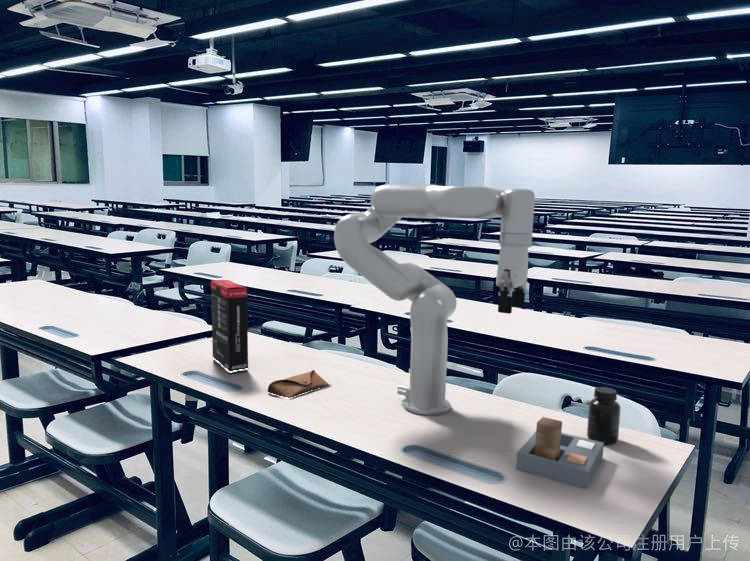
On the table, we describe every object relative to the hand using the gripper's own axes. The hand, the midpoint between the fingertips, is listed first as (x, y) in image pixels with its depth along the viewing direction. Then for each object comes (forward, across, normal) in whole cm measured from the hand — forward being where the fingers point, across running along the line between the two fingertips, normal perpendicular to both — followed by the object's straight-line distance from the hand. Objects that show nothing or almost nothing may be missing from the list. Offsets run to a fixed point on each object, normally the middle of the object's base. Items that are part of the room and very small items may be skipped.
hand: (511, 309), depth 136 cm
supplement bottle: (+28, -2, +23) cm, 37 cm away
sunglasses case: (+29, +13, -56) cm, 64 cm away
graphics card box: (+29, +10, -88) cm, 93 cm away
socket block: (+28, +16, +18) cm, 37 cm away
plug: (+28, +20, +16) cm, 38 cm away
